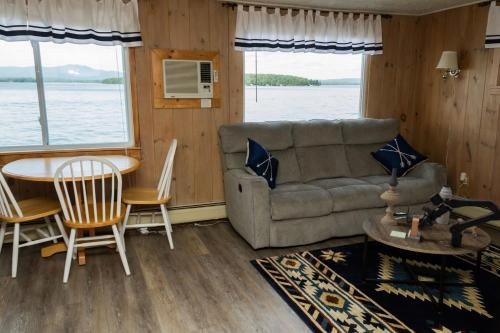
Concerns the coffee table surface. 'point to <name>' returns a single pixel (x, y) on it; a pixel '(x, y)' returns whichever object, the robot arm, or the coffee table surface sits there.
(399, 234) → the mat
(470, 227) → the lion figurine
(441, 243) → the coffee table surface
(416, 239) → the dispenser
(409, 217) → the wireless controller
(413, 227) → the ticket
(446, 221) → the thermos bottle
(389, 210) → the wooden candle holder
